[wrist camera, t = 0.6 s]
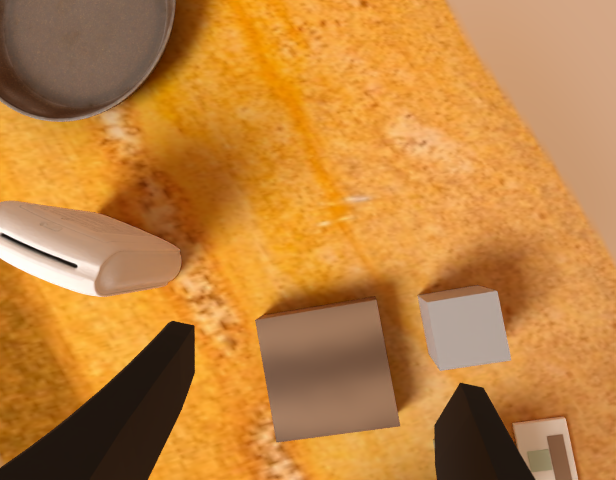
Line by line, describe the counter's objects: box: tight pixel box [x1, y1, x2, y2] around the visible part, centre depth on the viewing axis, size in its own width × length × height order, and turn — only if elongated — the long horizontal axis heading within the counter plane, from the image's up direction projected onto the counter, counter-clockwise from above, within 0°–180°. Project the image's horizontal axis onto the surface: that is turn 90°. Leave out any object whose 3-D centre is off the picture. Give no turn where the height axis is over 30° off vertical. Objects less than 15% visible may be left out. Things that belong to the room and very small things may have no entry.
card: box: [512, 417, 578, 480], centre depth 34 cm, size 6×4×1 cm, turn 11°
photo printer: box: [0, 201, 182, 297], centre depth 32 cm, size 10×4×12 cm, turn 68°
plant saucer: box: [0, 0, 176, 122], centre depth 38 cm, size 21×21×3 cm
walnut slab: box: [255, 297, 400, 442], centre depth 35 cm, size 10×10×3 cm
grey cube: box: [418, 285, 511, 371], centre depth 33 cm, size 5×5×5 cm
